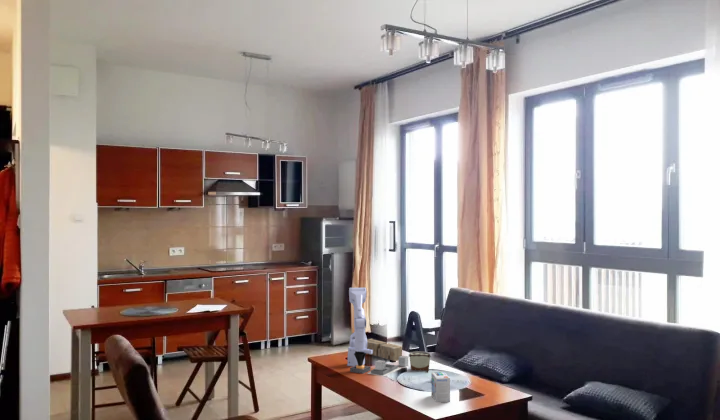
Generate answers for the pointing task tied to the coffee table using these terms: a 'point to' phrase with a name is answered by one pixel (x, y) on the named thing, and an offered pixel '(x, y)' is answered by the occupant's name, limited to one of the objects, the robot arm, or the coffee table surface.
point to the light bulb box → (440, 387)
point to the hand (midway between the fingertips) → (360, 365)
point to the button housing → (362, 371)
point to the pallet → (388, 370)
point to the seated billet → (380, 365)
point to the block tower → (384, 349)
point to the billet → (403, 361)
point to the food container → (419, 360)
